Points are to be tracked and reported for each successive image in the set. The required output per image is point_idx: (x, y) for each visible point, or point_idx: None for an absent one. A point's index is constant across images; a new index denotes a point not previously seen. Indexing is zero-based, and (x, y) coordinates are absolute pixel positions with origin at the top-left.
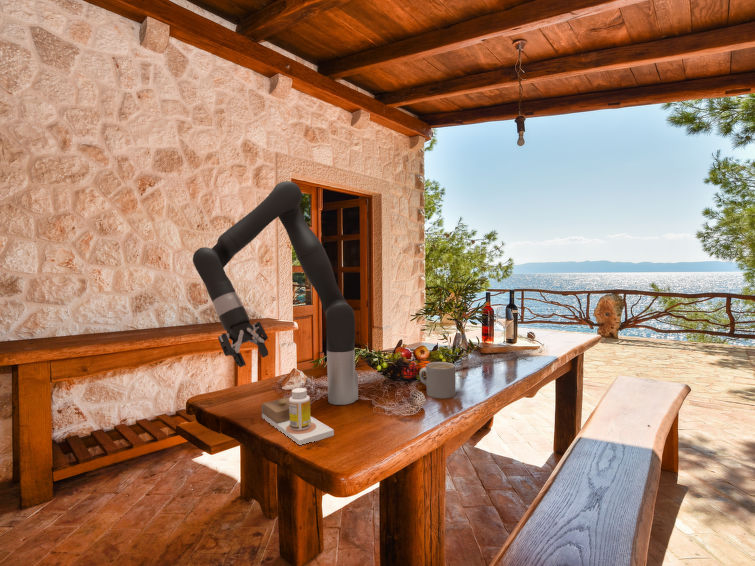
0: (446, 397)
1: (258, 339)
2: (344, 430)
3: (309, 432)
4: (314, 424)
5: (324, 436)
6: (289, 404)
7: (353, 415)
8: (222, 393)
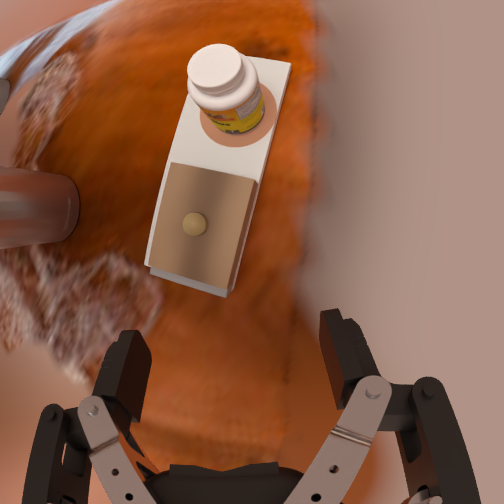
0: (8, 81)
1: (113, 434)
2: (175, 63)
3: None
4: None
5: None
6: (255, 93)
7: (104, 113)
8: None
